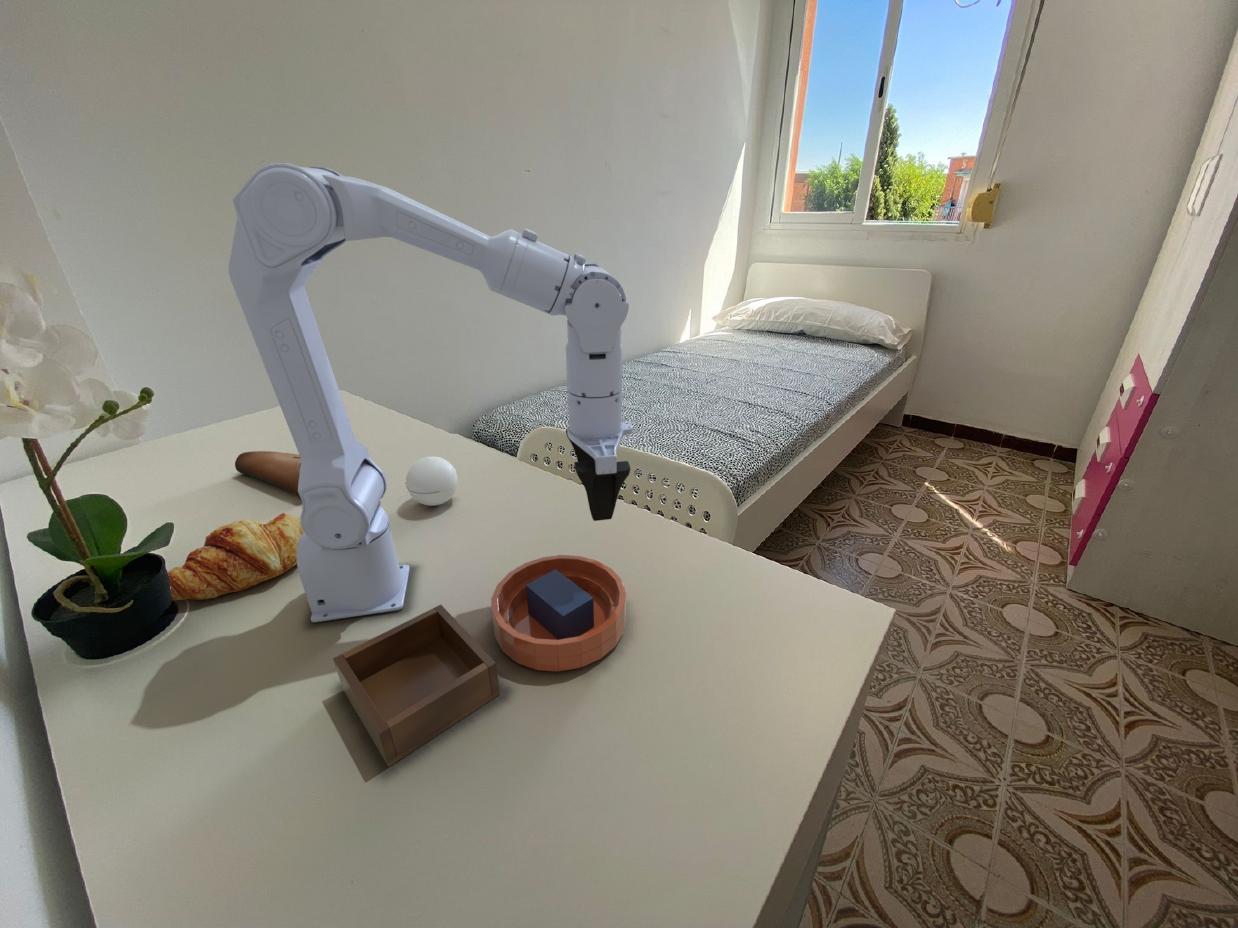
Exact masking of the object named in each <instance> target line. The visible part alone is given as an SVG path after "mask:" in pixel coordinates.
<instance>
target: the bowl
mask: <svg viewBox="0 0 1238 928" xmlns="http://www.w3.org/2000/svg"><path fill="white" fill-rule="evenodd" d="M555 569H556V570H557V571H558V572H560V573H561V574H562V575H564V576H565V577H566V578H568V579H569V580H570V581H572V582H573V583H574V584H576V585H577V586H578V587H580V588H581V589H582V590H584V591H585V592H586V593H588V594H589V595H590V596H592V597H593V604H594V627H593V628H591V629H590V630H588V631H587V632H585V633H584V634H582V635H580V636H578V637H572V638H566V639H560V640H558V639H557V638H555V637H554V636H553V635H552V634H551V633H550V632H549V631H548V630H546V629H545V628H544V627H543V626H542V625H541V624H540V623H539V622H537V621H536V620H535V619H534V618H533V617H532V616H531V615H530V614H529V613H528V603H527V593H526V585H527V584H529V583H531V582H533V581H534V580H536V579H538V578H540V577H542V576H544V575H546V574H548V573H549V572H551V571H553V570H555ZM490 600H491V602H490V603H491V616H492V617H491V618H492V624H493V631H494V638H495V640H496V642H497V644H498V645H499V647H500V649H501V652H503V654H505V655H506V656H508V657H509V658H510V659H511V660H513V661H514V662H515V663H517V664H519V665H521V666H524V667H527V668H530V669H533V670H536V671H545V672H546V671H547V672H564V671H569V670H574V669H580V668H583V667H585V666H588V665H590V664H592V663H595V662H597V661H599V660H601V659H603V657H605V656H606V655H607V654H608V653H609V652H611V651H612V650H613V649H614V648H615V647H616V646H617V645H618V643H619V641H620V640H621V638H622V636H623V634H624V633H625V629H626V619H627V591H626V588H625V585H624V582H623V580H622V578H621V577H620V576H619V575H618V574H617V573H616V572H615V571H614V569H612V568H611V567H609V566H608V565H606V564H604V563H603V562H601V561H599V560H596V559H593V558H589V557H586V556H582V555H571V554H570V555H569V554H557V555H551V556H550V555H549V556H542V557H539V558H537V559H533V560H529V561H527V562H524V563H523V564H521V565H519V566H518V567H516V568H515V569H513V570H510V572H508V573H507V574H506V575H505V576H504V577H503V578H502V579H501V580H500V581H499V582H498V583H497V585H496V587H495V589H494V592H493V594H492V596H491V599H490Z"/></svg>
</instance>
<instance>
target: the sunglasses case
mask: <svg viewBox="0 0 1238 928" xmlns="http://www.w3.org/2000/svg"><path fill="white" fill-rule="evenodd" d="M300 466H301V458H300V455H299V453H298V454H297V453H289V452H281V451H280V452H279V451H269V450H267V451H266V450H265V451H264V450H260V451H259V450H255V451H245V452H242V453H240V454H239V455H237V457H236V458H235V462H234V467H235V470H236V471H237V472H238V473H240V474H243V475H246V476H248V477H253V478H255V479H259V480H261V481H263V482H266V483H268V484H271V485H273V486H276V487H278V488H280V489H282V490H285V491H287V492H289V493H292V494H294V495H296V496H299V497H300V495H299V493H298V483H299V475H300Z"/></svg>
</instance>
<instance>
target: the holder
mask: <svg viewBox="0 0 1238 928" xmlns="http://www.w3.org/2000/svg"><path fill="white" fill-rule="evenodd" d="M332 660H333V662H334V666H335V669H336V672H337V675H338V678H339V680H340V681H339V682H340V685H341V687H342V691H343V692H344V694H345V695H346V697H347V699H348V701H349V702H350V704H351V706H352V707H353V710H354V711H355V712H356V714H357V716H358V717H359V719H360V721H361V722H362V724H363V726H364V728H365V730H366V732H367V733H368V734H369V736H370V738H371V740H372V742H373V743H374V745H375V746H376V749H377V750H378V752H379V753H380V755H381V757H382V759H383V761H384V762H385V764H386V765H387V767H389V768H390V767H391V766H393V765H394V764H396V763H397V762H399V761H401V760H402V759H403V758H406V757H407V756H408V755H410V754H411V753H413V752H414V751H416V750H417V749H419V748H421V747H422V746H423V745H425V744H426V743H428V742H429V741H431V740H432V739H434V738H435V737H437V736H438V735H440V734H442V733H443V732H445V731H446V730H448V729H449V728H450V727H451V728H452V726H454V725H456V724H457V723H459V722H460V721H462V720H463V719H464V718H467V717H468V716H469V715H470V714H472V713H474V712H475V711H477V710H478V709H480V708H481V707H484V705H486V704H487V703H489V702H490V701H492V700H493V699H495V698H497V697H498V696H500V695H501V690H500V682H499V676H498V675H499V674H498V667H497V662H496V661H495V660H494V659H493V658H492V657H491V656H490V655H489V654H488V653H487V651H485V650H484V648H483V647H482V646H481V645H480V644H479V643H478V642H477V641H476V640H475V639H474V638H473V637H472V636H471V634H470V633H469V632H468V631H467V630H466V629H465V628H464V627H463V626H462V625H461V624H460V623H459V622H458V621H457V619H455V618H454V616H453V615H452V614H451V613H450V612H449V611H448V610H447V609H446V608H445V607H444V606H443V605H442V604H438V605H437V606H435V607H433V608H431V609H428V610H426V611H424V612H423V613H421V614H419V615H417V616H415V617H413V618H411V619H409V620H406V621H405V622H402V623H401V624H399V625H397V626H395V627H393V628H391V629H388V630H387V631H385V632H382V633H381V634H379V635H377V636H374V637H373V638H370V639H368V640H367V641H365V642H363V643H361V644H359V645H357V646H355V647H353V648H350V649H349V650H347V651H345V652H342V653H341V654H339V655H337V656H335V657H333V658H332Z"/></svg>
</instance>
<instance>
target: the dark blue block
mask: <svg viewBox="0 0 1238 928" xmlns="http://www.w3.org/2000/svg"><path fill="white" fill-rule="evenodd" d="M526 593H527V603H528V613H529V614H530V615H531V616H532V617H533V618H534V619H535V620H536V621H537V622H539V623H540V624H541V625H542V626H543V627H544V628H545V629H546V630H548V631H549V632H550V633H551V634H552V635H553V636H554V637H555V638H557V639H558V640H560V639H566V638H572V637H578V636H580V635H582V634H584V633H585V632H587V631H588V630H590V629H591V628H593V627H594V604H593V597H592V596H590V595H589V594H588V593H586V592H585V591H584V590H582V589H581V588H580V587H578V586H577V585H576V584H574V583H573V582H572V581H570V580H569V579H568V578H566V577H565V576H564V575H562V574H561V573H560V572H558V571H557V570H556V569H555V570H553V571H551V572H549V573H548V574H546V575H544V576H542V577H540V578H538V579H536V580H534V581H533V582H531V583H529V584H527V585H526Z"/></svg>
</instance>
